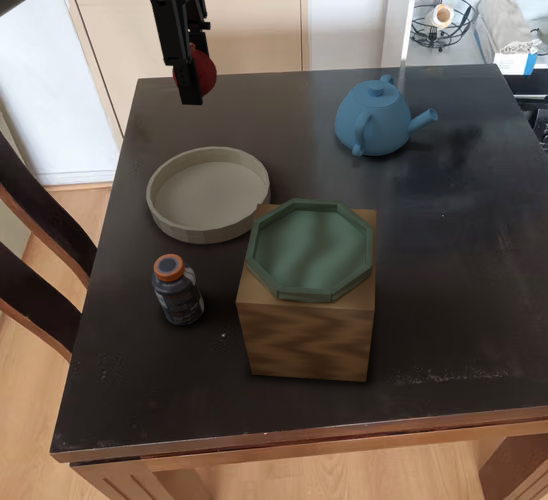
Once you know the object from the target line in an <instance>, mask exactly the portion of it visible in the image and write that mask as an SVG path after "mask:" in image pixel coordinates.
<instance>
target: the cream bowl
mask: <svg viewBox="0 0 548 500" xmlns="http://www.w3.org/2000/svg"><path fill="white" fill-rule="evenodd" d="M271 192H272V191H271V185H270V178H269V172H268V171H267V169H266V167H265V166H264V164H263V163H262V162H261V160H259V159H258V158H256V157H255V156H254V155H252V154H250V153H248V152H247V151H244V150H242V149H238V148H234V147H229V146H214V145H213V146H205V147H198V148H194V149H190V150H187V151H183V152H181V153H179V154H176V155H174V156H173V157H170V158H169V159H168V160H167V161H165V162H163V164H161V165H160V166H159V167H157V169H156V170H155V172H154V173H153V174H152V176H151V177H150V178H149V181H148V183H147V185H146V196H145V199H146V202H147V206H148V208H149V211H150V213H151V217H152V218H153V221H154V223H155V224H156V226H157V227H158V228H159V229H160V230H161V232H164V234H166V235H167V236H169V237H171V238H172V239H175V240H176V241H177V240H178V241H180V242H184V243H189V244H195V245H209V244H219V243H223V242H226V241H231V240H233V239H236V238H239V237H240V236H242V235H244V234H246V233H247V232H249V231H251V230H252V226H253V221H254V216H255V212H256V207H257V204H271V199H272V194H271Z"/></svg>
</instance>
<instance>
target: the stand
mask: <svg viewBox="0 0 548 500" xmlns="http://www.w3.org/2000/svg"><path fill="white" fill-rule="evenodd" d="M377 216H378V211H377V209H366V208H365V209H364V208H363V209H362V208H350V207H349V206H347V205H346V204H345V203H344V202H343V201H341V200H337V199H318V198H317V199H316V198H300V197H299V198H298V197H293V198H290V199H288V200H287V201H285V202H283V203H282V204H272V203H270V204H257V207H256V212H255V216H254V221H253V226H252V229H250V235H249V239H248V244H247V248H246V253H245V258H244V262H243V267H242V272H241V274H240V275H241V277H240V281H239V285H238V290H237V293H236V299H235V306H236V310H237V314H238V318H239V323H240V327H241V331H242V336H243V341H244V344H245V345H244V346H245V349H246V353H247V357H248V358H247V359H248V363H249V367H250V372H251V375H254V376H267V377H268V376H269V377H270V376H271V377H283V378H297V379H298V378H300V379H313V380H330V381H343V382H344V381H345V382H359V383H366V382H367V377H368V369H369V361H370V351H371V344H372V337H373V330H374V329H373V328H374V319H375V312H376V274H377V273H376V272H377V270H376V269H377V267H376V265H377V219H378V218H377Z"/></svg>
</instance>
